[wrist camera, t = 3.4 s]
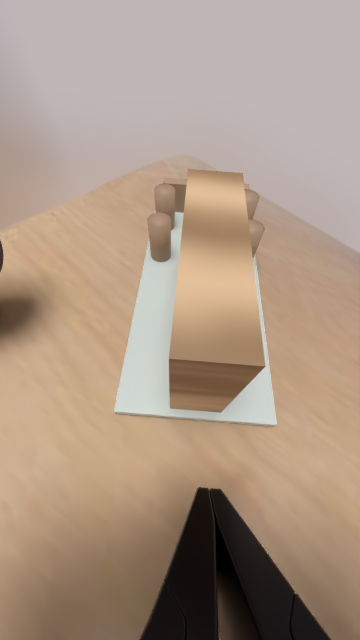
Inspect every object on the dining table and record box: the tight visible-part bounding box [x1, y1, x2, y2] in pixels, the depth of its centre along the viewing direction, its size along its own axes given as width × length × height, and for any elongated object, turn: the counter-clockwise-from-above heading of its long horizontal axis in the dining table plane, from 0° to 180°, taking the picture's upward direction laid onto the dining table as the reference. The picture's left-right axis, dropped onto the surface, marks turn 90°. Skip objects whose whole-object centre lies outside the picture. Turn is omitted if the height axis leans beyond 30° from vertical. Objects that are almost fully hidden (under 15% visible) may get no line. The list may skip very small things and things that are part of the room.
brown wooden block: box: [169, 169, 266, 413], centre depth 16 cm, size 13×4×9 cm, turn 176°
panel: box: [114, 178, 277, 427], centre depth 21 cm, size 23×11×5 cm, turn 176°
